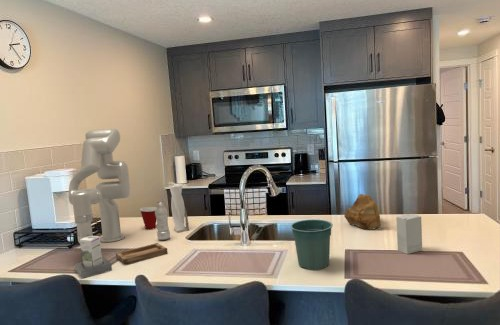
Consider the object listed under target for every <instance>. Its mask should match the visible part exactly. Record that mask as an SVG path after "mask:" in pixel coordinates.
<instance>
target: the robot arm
mask: <svg viewBox="0 0 500 325" xmlns="http://www.w3.org/2000/svg"><path fill="white" fill-rule="evenodd" d="M84 136H85V140H84V141H82V142H83V143H82V151H81V152H82V153H81V161H80V162H81V163H80V164H81V165H80V167H79V170H77V171H76V172H75V174H74V175H73V176H72V178H71V180H70V182H69V186H68V202H69V203H70V205H72V208H73V215H74V216H73V218H74V223H75V225H76V230H77V231H76V232H77V242H78V243H79V244H80V239H82V238H84V237H87V236H94V235H93V228H92V222H93V221H94V218H93V210H92V209H93V208H92V206H93V205H96V204H98V206H99V207H98V208H99V215H100V222H101V223H100V224H101V234H102V237H99V238H100V243H112V242H113V243H114V242H118V241H121V240H123V239H124V238H125V234H123V233H122V230H121V228H122V227H121V220H120V219H121V218H120V212H119V210H120V209H119V206H118V203H117V202H116V201H115V200H118V199H126V198H128V197H129V196H130V193H131V187H130V186H131V184H130V175H129V168H128V167H129V166H128V164H127V163H126V161H123V160H113V159H114V158H113V153H114V151H115V150H116V149H117V147H118V145H119V143H120V142H121V133H120V131H119V130H118V129H116V128H103V129H92V130H89V131H87V132H86V133H85V135H84ZM95 173H97V174H96V175H97V177H98V178H99V179H101V180H115V179H116V180H115V181H104V182H103V181H101V182H99V183H98V184H96V187H95V188H81V189H80V188H79V187H80V185H81V183H82V182H83V181H84V180H85V179H86V178H88V177H90V176H92V175H94V174H95ZM117 180H118V181H117Z"/></svg>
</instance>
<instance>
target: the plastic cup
mask: <svg viewBox="0 0 500 325" xmlns="http://www.w3.org/2000/svg"><path fill="white" fill-rule="evenodd" d="M157 207H158V206H157ZM157 207H156V206H146V207H141V208H140V209H139V212H140V215H141V216H142V220H143V224H144V228H145V229H146V230H153V228H154V229H156V227H157V219H156V216H155V211H156V209H157Z"/></svg>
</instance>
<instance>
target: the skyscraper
mask: <svg viewBox="0 0 500 325" xmlns="http://www.w3.org/2000/svg"><path fill="white" fill-rule="evenodd" d="M170 184H173V185H170ZM168 187H169V190H170V194H171V199H170V200H171V201H170V203H171V204H170V205H171V208H170V209H171V215H172V220H173V223H174V228H173V230H174V232H176V233H183V232H188V231H190V226H189V220H188V219H189V218H188V212H187V208H185V202H184V198H183V195H182V191H183V184H182V183H175V182H168Z"/></svg>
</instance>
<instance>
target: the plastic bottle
mask: <svg viewBox="0 0 500 325" xmlns="http://www.w3.org/2000/svg"><path fill="white" fill-rule="evenodd" d="M156 206H157V209H156V211H155V216H156V227H157V231H156V232H157V233H156V236H157V239H159V241H166V240H168V239H169V240H170V237H171V231H170V228H169V222H168V221H169V220H168V218H169V216H168V214H169V213H168V212H169V211H168V208H166V207H165V201H158V202H156Z"/></svg>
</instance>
